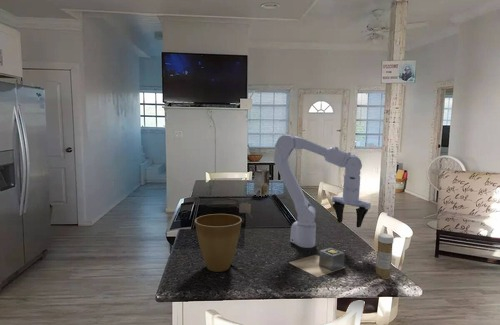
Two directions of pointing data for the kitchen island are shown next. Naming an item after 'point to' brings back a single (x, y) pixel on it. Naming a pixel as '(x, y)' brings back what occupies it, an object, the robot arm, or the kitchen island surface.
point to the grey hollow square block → (331, 259)
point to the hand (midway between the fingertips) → (349, 224)
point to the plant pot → (218, 239)
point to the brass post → (332, 252)
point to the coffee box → (261, 182)
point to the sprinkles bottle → (384, 255)
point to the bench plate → (311, 266)
